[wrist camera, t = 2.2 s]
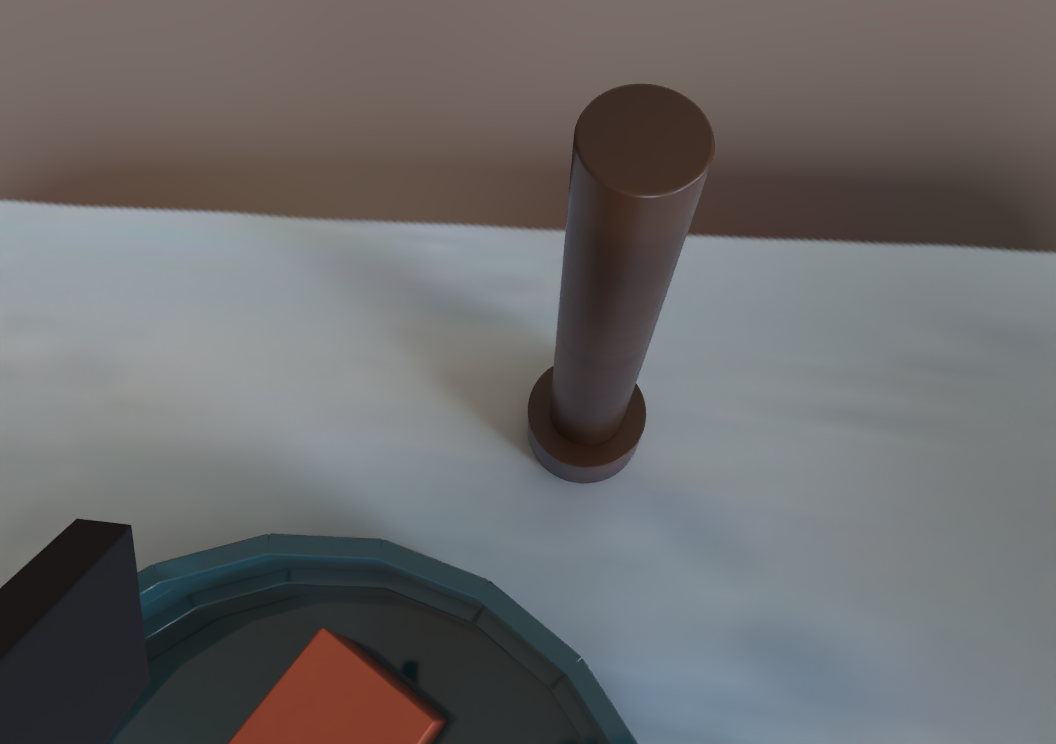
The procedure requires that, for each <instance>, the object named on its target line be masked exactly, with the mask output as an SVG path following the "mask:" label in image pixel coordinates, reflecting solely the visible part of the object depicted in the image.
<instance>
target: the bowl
mask: <svg viewBox="0 0 1056 744" xmlns="http://www.w3.org/2000/svg"><path fill="white" fill-rule="evenodd" d="M137 577H138V585H139V593H140V602H141V610H142V618H143V627H144V635H145V643H146V651H147V660H148V668H149V676H150V682H149V684H148V685H147V687H146V688H145V689H144V691H143V692H142V694H141V695H140V697H139V698H138V699H137V701H136V702H135V704H134V705H133V707H132V708H131V709H130V711H129V712H128V714H127V715H126V717H125V718H124V719H123V721H122V722H121V724H120V725H119V727H118V728H117V729H116V731H115V732H114V734H113V735H112V737H111V738H110V739H109V741H108V742H107V744H227V743H228V742H229V741H230V740H231V738H232V737H233V736H234V735H235V733H236V732H237V731H238V730H239V728H240V727H241V726H242V725H243V724H244V722H245V721H246V720H247V719H248V717H249V716H250V715H251V714H252V712H253V711H254V710H255V709H256V707H257V706H258V705H259V704H260V703H261V701H262V700H263V699H264V698H265V696H266V695H267V694H268V693H269V691H270V690H271V689H272V688H273V686H274V685H275V684H276V683H277V682H278V680H279V679H280V678H281V677H282V675H283V674H284V673H285V672H286V670H287V669H288V668H289V667H290V665H291V664H292V663H293V662H294V661H295V659H296V658H297V657H298V656H299V654H300V653H301V652H302V651H303V649H304V648H305V647H306V646H307V644H308V643H309V642H310V641H311V640H312V638H313V637H314V636H315V635H316V633H317V632H318V631H319V630H320V629H321V628H322V627H323V628H326V629H328V630H330V631H333V632H335V633H338V634H340V635H342V636H345V637H347V638H350V639H352V640H353V641H354V642H356V643H357V644H358V645H359V646H360V647H362V648H363V649H364V650H365V651H366V652H368V653H369V654H370V655H371V656H372V657H374V658H375V659H376V660H377V661H378V662H380V663H381V664H382V665H383V666H384V667H386V668H387V669H388V670H389V671H390V672H392V673H393V674H394V675H395V676H396V677H398V678H399V679H400V680H401V681H402V682H404V683H405V684H406V685H407V686H408V687H410V688H411V689H412V690H413V691H414V692H415V693H417V694H418V695H419V696H420V697H421V698H423V699H424V700H425V701H426V702H427V703H429V704H430V705H431V706H432V707H433V708H435V709H436V710H437V711H438V712H439V713H441V714H442V715H443V716H444V717H445V718H447V723H446V724H445V726H444V727H443V729H442V730H441V731H440V733H439V734H438V736H437V737H436V738H435V740H434V741H433V742H432V744H638V743H637V742H636V740H635V739H634V737H633V735H632V734H631V732H630V731H629V729H628V728H627V726H626V725H625V723H624V721H623V720H622V718H621V717H620V715H619V714H618V712H617V711H616V709H615V708H614V706H613V704H612V703H611V701H610V700H609V698H608V697H607V695H606V694H605V692H604V690H603V689H602V687H601V686H600V684H599V683H598V681H597V680H596V678H595V677H594V675H593V673H592V672H591V670H590V669H589V667H588V666H587V664H586V663H585V661H584V659H582V658H581V656H580V655H579V654H577V653H576V652H575V651H574V650H573V649H571V648H570V647H569V646H568V645H567V644H565V643H564V642H563V641H562V640H561V639H559V638H558V637H557V636H556V635H555V634H553V633H552V632H551V631H550V630H549V629H547V628H546V627H545V626H544V625H543V624H541V623H540V622H539V621H538V620H537V619H535V618H534V617H533V616H532V615H531V614H529V613H528V612H527V611H526V610H525V609H523V608H522V607H521V606H520V605H518V604H517V603H516V602H515V601H514V600H512V599H511V598H510V597H509V596H508V595H506V594H505V593H504V592H503V591H502V590H500V589H499V588H498V587H497V586H496V585H494V584H493V583H492V582H491V581H488V580H487V579H485V578H482V577H480V576H477V575H474V574H472V573H469V572H467V571H464V570H462V569H459V568H456V567H454V566H451V565H449V564H446V563H444V562H441V561H438V560H436V559H433V558H431V557H428V556H426V555H423V554H420V553H418V552H415V551H413V550H410V549H408V548H405V547H402V546H400V545H397V544H395V543H392V542H390V541H387V540H382V539H375V538H354V537H333V536H312V535H291V534H265V535H261V536H258V537H254V538H250V539H246V540H243V541H239V542H235V543H231V544H227V545H224V546H220V547H216V548H212V549H208V550H205V551H201V552H197V553H193V554H189V555H186V556H182V557H178V558H174V559H170V560H167V561H163V562H159V563H156V564H154V565H150V566H149V567H147V568H145V569H144V570H142V571H140V572H138V573H137Z"/></svg>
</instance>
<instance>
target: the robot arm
mask: <svg viewBox="0 0 1056 744" xmlns="http://www.w3.org/2000/svg"><path fill="white" fill-rule="evenodd" d="M149 682H150V676H149V668H148V660H147V651H146V643H145V635H144V627H143V618H142V610H141V602H140V593H139V585H138V577H137V569H136V560H135V552H134V544H133V536H132V527H131V525H127V524H119V523H110V522H101V521H93V520H84V519H76V520H75V521H74V522H73V523H72V524H70V525H69V526H68V527H67V528H66V529H65V530H64V531H63V532H62V533H61V534H59V535H58V536H57V537H56V538H55V539H54V540H53V541H52V542H51V543H50V544H48V545H47V546H46V547H45V548H44V549H43V550H42V551H41V552H40V553H39V554H37V555H36V556H35V557H34V558H33V559H32V560H31V561H30V562H29V563H28V564H26V565H25V566H24V567H23V568H22V569H21V570H20V571H19V572H18V573H17V574H15V575H14V576H13V577H12V578H11V579H10V580H9V581H8V582H7V583H6V584H4V585H3V586H2V587H1V588H0V744H107V742H108V741H109V739H110V738H111V737H112V735H113V734H114V732H115V731H116V729H117V728H118V727H119V725H120V724H121V722H122V721H123V719H124V718H125V717H126V715H127V714H128V712H129V711H130V709H131V708H132V707H133V705H134V704H135V702H136V701H137V699H138V698H139V697H140V695H141V694H142V692H143V691H144V689H145V688H146V687H147V685H148V684H149Z"/></svg>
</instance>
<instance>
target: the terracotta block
mask: <svg viewBox="0 0 1056 744" xmlns="http://www.w3.org/2000/svg"><path fill="white" fill-rule="evenodd" d="M446 723H447V718H445V717H444V716H443V715H442V714H441V713H439V712H438V711H437V710H436V709H435V708H433V707H432V706H431V705H430V704H429V703H427V702H426V701H425V700H424V699H423V698H421V697H420V696H419V695H418V694H417V693H415V692H414V691H413V690H412V689H411V688H410V687H408V686H407V685H406V684H405V683H404V682H402V681H401V680H400V679H399V678H398V677H396V676H395V675H394V674H393V673H392V672H390V671H389V670H388V669H387V668H386V667H384V666H383V665H382V664H381V663H380V662H378V661H377V660H376V659H375V658H374V657H372V656H371V655H370V654H369V653H368V652H366V651H365V650H364V649H363V648H362V647H360V646H359V645H358V644H357V643H356V642H354V641H353V640H352V639H350V638H347V637H345V636H342V635H340V634H338V633H335V632H333V631H330V630H328V629H326V628H323V627H322V628H321V629H320V630H319V631H318V632H317V633H316V635H315V636H314V637H313V638H312V640H311V641H310V642H309V643H308V644H307V646H306V647H305V648H304V649H303V651H302V652H301V653H300V654H299V656H298V657H297V658H296V659H295V661H294V662H293V663H292V664H291V665H290V667H289V668H288V669H287V670H286V672H285V673H284V674H283V675H282V677H281V678H280V679H279V680H278V682H277V683H276V684H275V685H274V686H273V688H272V689H271V690H270V691H269V693H268V694H267V695H266V696H265V698H264V699H263V700H262V701H261V703H260V704H259V705H258V706H257V707H256V709H255V710H254V711H253V712H252V714H251V715H250V716H249V717H248V719H247V720H246V721H245V722H244V724H243V725H242V726H241V727H240V728H239V730H238V731H237V732H236V733H235V735H234V736H233V737H232V738H231V740H230V741H229V742H228V743H227V744H432V742H433V741H434V740H435V738H436V737H437V736H438V734H439V733H440V731H441V730H442V729H443V727H444V726H445V724H446Z"/></svg>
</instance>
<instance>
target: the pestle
mask: <svg viewBox="0 0 1056 744" xmlns="http://www.w3.org/2000/svg"><path fill="white" fill-rule="evenodd" d="M714 149H715V142H714V135H713V131H712V128H711V126H710V123H709V121H708V119H707V118H706V116H705V115H704V113H703V112H702V111H701V109H700V108H699V107H698V106H697V105H696V104H695V103H694V102H692V101H691V100H689V99H688V98H687V97H685V96H684V95H682V94H680V93H678V92H676V91H674V90H671V89H668V88H665V87H662V86H657V85H651V84H630V85H624V86H620V87H617V88H613V89H611V90H609V91H606V92H605V93H603V94H601V95H599V96H598V97H596V98H595V99H594V100H593V101H592V102H591V103H590V104H589V105H588V106H587V107H586V108H585V110H584V111H583V112H582V114H581V115H580V117H579V119H578V121H577V124H576V127H575V133H574V142H573V154H572V165H571V176H570V187H569V199H568V210H567V221H566V233H565V244H564V256H563V267H562V278H561V290H560V301H559V312H558V324H557V335H556V346H555V358H554V366H552V367H551V368H550V369H548V370H547V371H546V372H545V373H544V374H543V375H542V376H541V377H540V378H539V379H538V381H537V382H536V384H535V385H534V387H533V390H532V392H531V395H530V398H529V403H528V439H529V443H530V446H531V448H532V451H533V453H534V455H535V456H536V458H537V459H538V461H539V462H540V463H541V464H542V465H543V466H544V467H545V468H546V469H547V470H548V471H550V472H551V473H552V474H554V475H556V476H557V477H559V478H562V479H564V480H567V481H571V482H576V483H593V482H598V481H602V480H605V479H607V478H610V477H611V476H613V475H615V474H616V473H618V472H619V471H620V470H622V469H623V468H624V467H625V466H626V465H627V463H628V462H629V461H630V459H631V458H632V456H633V454H634V452H635V450H636V447H637V445H638V443H639V440H640V438H641V436H642V433H643V430H644V427H645V422H646V407H645V401H644V398H643V395H642V393H641V391H640V389H639V387H638V385H637V384H636V381H637V378H638V375H639V373H640V370H641V367H642V364H643V361H644V358H645V355H646V352H647V349H648V346H649V343H650V340H651V338H652V335H653V332H654V329H655V326H656V323H657V320H658V317H659V314H660V311H661V308H662V305H663V303H664V300H665V297H666V294H667V291H668V288H669V285H670V282H671V279H672V276H673V273H674V270H675V268H676V265H677V262H678V259H679V256H680V253H681V250H682V247H683V244H684V241H685V238H686V235H687V233H688V230H689V227H690V223H691V221H692V218H693V215H694V212H695V209H696V206H697V203H698V201H699V198H700V195H701V192H702V189H703V186H704V183H705V180H706V177H707V174H708V171H709V168H710V165H711V163H712V160H713V155H714Z"/></svg>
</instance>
